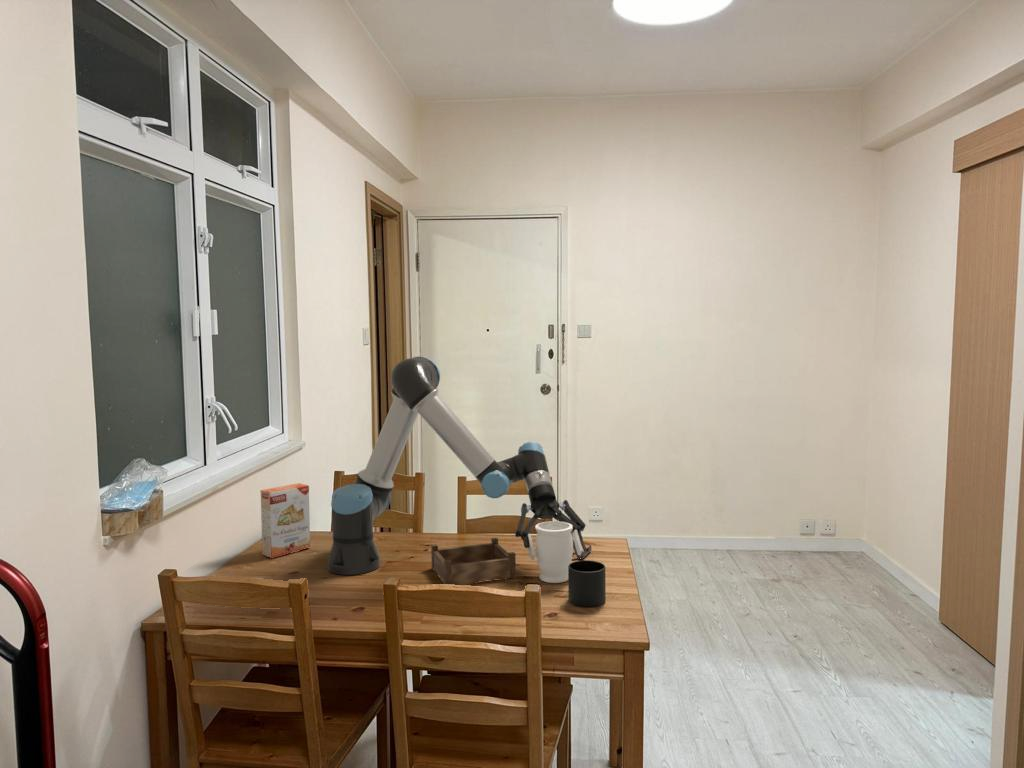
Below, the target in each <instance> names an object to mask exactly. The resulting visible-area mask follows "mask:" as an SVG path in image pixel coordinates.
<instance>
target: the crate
mask: <svg viewBox="0 0 1024 768" xmlns="http://www.w3.org/2000/svg"><path fill="white" fill-rule="evenodd" d="M490 539H491V541H490V542H489V543H488V542H487V543H480V544H479V543H478V544H471V545H464V546H463V545H461V546H454V547H445V548H439V546H438V544H436V543H435V544H430V549H431V551H430V552H431V553H430V554H431V557H430V559H431V569H434V570H435V571H436V573H437V574H438V575H439V576H440V578H441V579H442V580H443V582H444V583H445V584H455V585H461V586H467V585H473V584H472V583H475V584H477V583H476V582H479V581H485V580H495V579H505V578H506V579H505V580H508V579H507V578H514V579H516V578H517V577H516V576H517V570H516V563H517V562H516V552H514V551H513V552H512V551H511V552H508V551H507V550H506V549H504V548H503V546H501V545H500V544H499V538H498V537H491V538H490ZM434 570H433V571H434ZM435 571H434V572H435ZM436 573H435V574H436ZM437 574H436V575H437ZM438 575H437V576H438ZM515 577H516V578H515ZM440 578H439V579H440ZM441 579H440V580H441ZM443 582H442V583H443ZM444 583H443V584H444Z"/></svg>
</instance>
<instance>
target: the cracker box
mask: <svg viewBox="0 0 1024 768" xmlns="http://www.w3.org/2000/svg"><path fill="white" fill-rule="evenodd" d="M260 515H261V517H260V519H261V520H260V521H261V522H260V523H261V547H262V548H261V549H262V551H261V552H262V554H263V555H265V556H264V557H266V556H267V558H268V557H270V558H269V559H271V558H273V559H275V558H274V557H277V556H281V555H284V554H287V553H291V552H293V551H297V550H301V549H304V548H308V547H310V548H311V529H310V527H311V524H310V523H311V522H310V520H311V519H310V517H311V516H310V486H309V485H308V484H306V483H305V484H304V483H300V482H298V483H293V484H289V485H283V486H277V487H272V488H271V487H270V488H266V489H261V490H260ZM263 555H262V556H263ZM284 556H285V555H284ZM281 557H282V556H281ZM277 558H278V557H277Z"/></svg>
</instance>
